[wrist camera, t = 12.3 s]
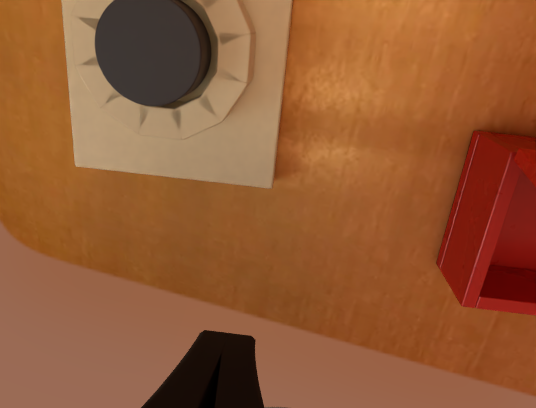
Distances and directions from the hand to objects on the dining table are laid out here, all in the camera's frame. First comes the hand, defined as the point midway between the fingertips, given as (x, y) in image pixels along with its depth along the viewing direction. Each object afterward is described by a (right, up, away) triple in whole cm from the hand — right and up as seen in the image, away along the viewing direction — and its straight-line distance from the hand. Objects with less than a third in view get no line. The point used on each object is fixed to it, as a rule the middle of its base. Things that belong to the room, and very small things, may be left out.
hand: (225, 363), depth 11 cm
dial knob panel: (-3, +11, +7) cm, 13 cm away
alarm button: (-3, +10, +5) cm, 11 cm away
